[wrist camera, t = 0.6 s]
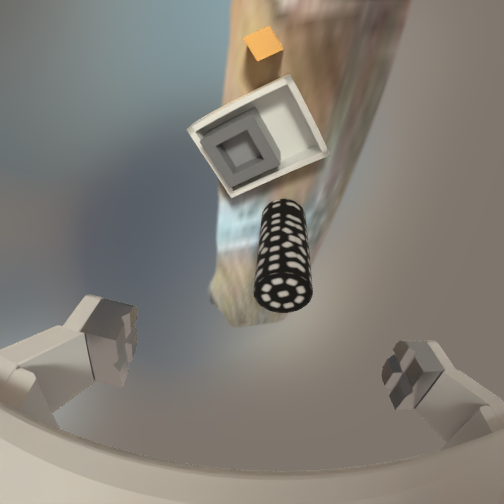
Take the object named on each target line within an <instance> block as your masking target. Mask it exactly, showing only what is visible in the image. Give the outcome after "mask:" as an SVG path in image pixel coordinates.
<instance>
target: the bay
mask: <svg viewBox="0 0 504 504" xmlns="http://www.w3.org/2000/svg"><path fill="white" fill-rule="evenodd" d="M187 131H188V133H189V134H190V136H191V137H192V139H193V140H194V142H195V143H196V145H197V147H198V148H199V150H200V151H201V153H202V154H203V155H204V157H205V159H206V160H207V162H208V163H209V165H210V166H211V168H212V169H213V171H214V172H215V174H216V175H217V177H218V178H219V180H220V181H221V183H222V185H223V186H224V188H225V189H226V191H227V192H228V194H229V195H230V197H231V198H233V197H235V196H237V195H239V194H242V193H244V192H246V191H248V190H250V189H253V188H255V187H257V186H259V185H261V184H264V183H266V182H268V181H270V180H273V179H275V178H277V177H280V176H282V175H284V174H287V173H289V172H291V171H294V170H296V169H298V168H301V167H303V166H305V165H308V164H310V163H313V162H315V161H317V160H320V159H322V158H325V157H327V156H330V153H329V151H328V149H327V146H326V144H325V142H324V140H323V138H322V136H321V133H320V131H319V129H318V127H317V125H316V123H315V121H314V119H313V117H312V115H311V113H310V111H309V109H308V107H307V105H306V103H305V101H304V99H303V97H302V95H301V93H300V92H299V90H298V88H297V86H296V84H295V82H294V80H293V79H292V77H291V75H290V73H289V74H287V75H284V76H282V77H280V78H278V79H276V80H273V81H271V82H269V83H267V84H265V85H263V86H261V87H259V88H257V89H255V90H253V91H251V92H249V93H247V94H245V95H243V96H241V97H239V98H237V99H235V100H233V101H231V102H230V103H228V104H226V105H224V106H222V107H220V108H219V109H217V110H215V111H213V112H211V113H210V114H208V115H206V116H204V117H203V118H201V119H199V120H198V121H196V122H195V123H193V124H192V125H191V126H190V127H189V128H188V129H187Z"/></svg>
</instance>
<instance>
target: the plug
mask: <svg viewBox="0 0 504 504" xmlns="http://www.w3.org/2000/svg"><path fill="white" fill-rule="evenodd" d="M243 39H244V41H245V42H246V44H247V46H248V47H249V49H250V50H251V52H252V54H253V55H254V57H255V59H256V60H257V62H258V61H260V60H262V59H264V58H266V57H268V56H270V55H273V54H275V53H277V52H279V51H281V50H284V49H283V47H282V45H281V44H280V42H279V40H278V39H277V37H276V35H275V34H274V32H273V30H272V29H271V27H270V26H267V27H265V28H263V29H261V30H259V31H257V32H255V33H253V34H250V35H248V36H246V37H244V38H243Z"/></svg>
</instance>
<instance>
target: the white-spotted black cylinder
mask: <svg viewBox="0 0 504 504" xmlns="http://www.w3.org/2000/svg"><path fill="white" fill-rule="evenodd" d="M312 292H313V290H312V278H311V266H310V256H309V246H308V236H307V227H306V218H305V212H304V210H303V208H302V207H301V206H300V205H299V204H298V203H296V202H295V201H292V200H289V199H279V200H275V201H273V202H271V203H269V204H268V205H267V206H266V207H265V209H264V211H263V214H262V222H261V231H260V240H259V249H258V258H257V267H256V276H255V285H254V297H255V299H256V301H257V302H258V303H259V304H260V305H261V306H262V307H264V308H265V309H267V310H270V311H273V312H278V313H288V312H294V311H297V310H299V309H301V308H303V307H304V306H306V305H307V304H308V303H309V302H310V300H311V298H312V294H313V293H312Z"/></svg>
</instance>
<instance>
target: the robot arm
mask: <svg viewBox="0 0 504 504" xmlns="http://www.w3.org/2000/svg"><path fill="white" fill-rule="evenodd" d="M136 320H137V308H136V306H134V305H130V304H126V303H122V302H118V301H113V300H109V299H106V298H101V297H98V296H93V295H90V294H89V295H86V296H85V297H84V298H83V300H82V301H81V302H80V304H79V305H78V306H77V308H76V309H75V310H74V312H73V313H72V314H71V316H70V317H69V318H68V320H67V321H66V323H65V324H64V325H63V327H62V326H59V325H58V326H55V327H53V328H50V329H48V330H46V331H43V332H41V333H39V334H36V335H34V336H32V337H29V338H27V339H24V340H22V341H20V342H17V343H15V344H13V345H11V346H8V347H6V348H3V349H1V350H0V504H504V402H503V401H502V399H500V398H499V397H497V396H496V395H494V394H493V393H492V392H490V391H489V390H487V389H486V388H484V387H482V386H481V385H480V384H478V383H477V382H476V381H474V380H472V379H471V378H470V377H468V376H467V375H465V374H464V373H462V372H461V371H459V370H456V369H455V368H454V366H453V365H452V363H451V362H450V360H449V359H448V357H447V356H446V355H445V353H444V352H443V350H442V349H441V347H440V346H439V345H438V343H437V342H435V341H402V340H400V341H399V342H398V343H396V345H395V347H394V348H393V355H392V356H391V357H390V358H388V359H387V360H386V362H385V364H384V366H383V369H382V381H383V383H384V385H385V386H386V387H387V388H388V389H389V390H390V394H389V397H390V399H391V402H392V404H393V406H394V409H395V410H406V409H414V410H415V411H416V412H417V413H418V414H419V415H420V416H421V417H422V418H423V419H424V420H425V421H426V422H427V423H428V424H429V425H430V427H431V428H432V429H434V431H436V432H437V434H438V435H439V436H441V437H442V439H443V440H444V441H445V442H446V444H444V445H443V446H442V447H441V448H440V449H439V451H436V452H432V453H428V454H424V455H420V456H416V457H411V458H406V459H402V460H397V461H392V462H386V463H380V464H373V465H366V466H359V467H351V468H341V469H330V470H315V471H251V470H236V469H224V468H215V467H206V466H199V465H192V464H185V463H179V462H174V461H168V460H162V459H158V458H153V457H149V456H144V455H140V454H136V453H132V452H128V451H124V450H121V449H117V448H114V447H110V446H107V445H103V444H100V443H97V442H94V441H91V440H88V439H85V438H82V437H79V436H77V435H74V434H71V433H68V432H66V431H63V430H61V429H60V428H59V425H58V424H57V422H56V420H55V418H54V416H53V414H52V413H53V412H55V411H56V410H57V409H59V408H60V407H62V406H63V405H64V404H65V403H67V402H68V401H70V400H71V399H73V398H74V397H75V396H77V395H78V394H79V393H81V392H82V391H83V390H85V389H86V388H88V387H89V386H90V385H92V384H93V383H94V381H97V382H101V383H105V384H108V385H113V386H117V387H123V384H124V381H125V379H126V376H127V374H128V363H129V362H130V361H132V360H133V358H134V355H135V352H136V347H137V340H138V330H137V328H136V327H135V326H134V324H135V322H136Z"/></svg>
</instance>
